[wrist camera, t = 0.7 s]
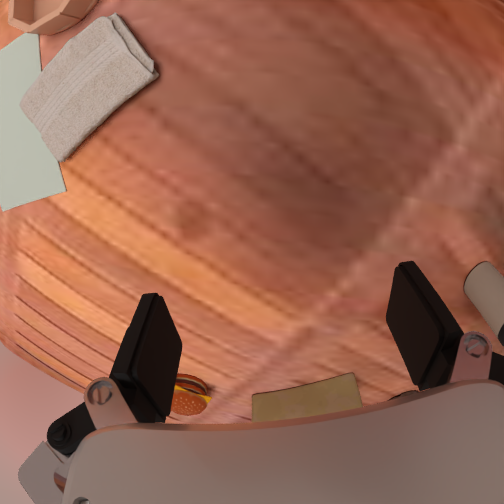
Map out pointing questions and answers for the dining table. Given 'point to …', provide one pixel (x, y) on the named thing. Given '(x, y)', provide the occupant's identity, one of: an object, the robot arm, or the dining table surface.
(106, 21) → the washcloth
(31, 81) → the mat
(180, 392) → the hamburger
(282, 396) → the olive green box
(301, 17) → the dining table surface
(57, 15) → the bowl
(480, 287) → the travel mug
